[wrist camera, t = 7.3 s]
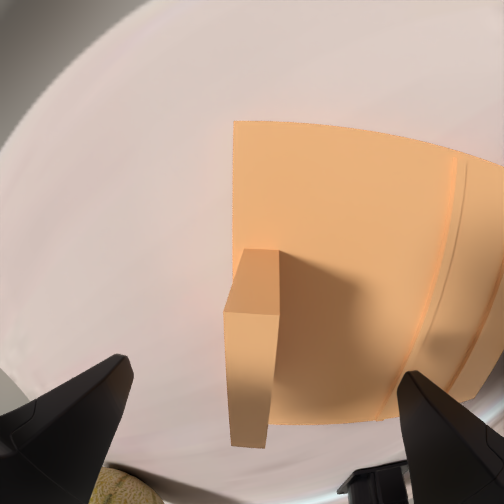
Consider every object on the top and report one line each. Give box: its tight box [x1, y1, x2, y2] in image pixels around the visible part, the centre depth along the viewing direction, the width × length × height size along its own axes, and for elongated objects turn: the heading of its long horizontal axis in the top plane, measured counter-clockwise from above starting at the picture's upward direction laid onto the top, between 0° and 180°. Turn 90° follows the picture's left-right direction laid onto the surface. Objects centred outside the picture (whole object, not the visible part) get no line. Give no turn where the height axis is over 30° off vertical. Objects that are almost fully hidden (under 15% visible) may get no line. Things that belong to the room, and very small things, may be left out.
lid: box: [223, 121, 504, 449], centre depth 9 cm, size 15×17×5 cm
